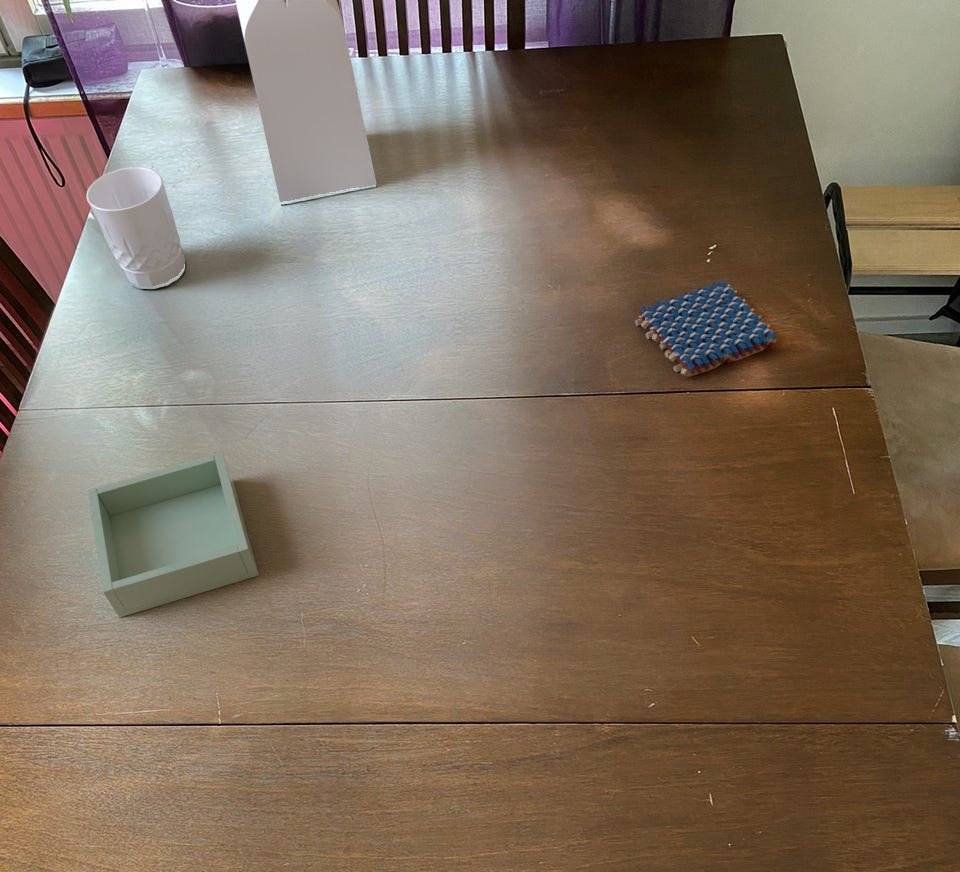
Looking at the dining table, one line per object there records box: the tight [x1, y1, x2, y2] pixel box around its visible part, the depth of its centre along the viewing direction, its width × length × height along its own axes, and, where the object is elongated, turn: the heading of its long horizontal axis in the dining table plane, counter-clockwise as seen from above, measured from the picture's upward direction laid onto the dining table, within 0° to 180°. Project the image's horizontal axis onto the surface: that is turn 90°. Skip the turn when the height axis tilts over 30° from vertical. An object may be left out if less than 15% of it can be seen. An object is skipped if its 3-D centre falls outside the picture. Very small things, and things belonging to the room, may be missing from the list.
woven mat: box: [634, 281, 777, 378], centre depth 98 cm, size 10×11×2 cm
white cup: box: [85, 166, 186, 287], centre depth 107 cm, size 8×8×10 cm
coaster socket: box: [87, 451, 260, 618], centre depth 87 cm, size 12×12×4 cm
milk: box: [235, 0, 377, 203], centre depth 110 cm, size 12×12×26 cm
